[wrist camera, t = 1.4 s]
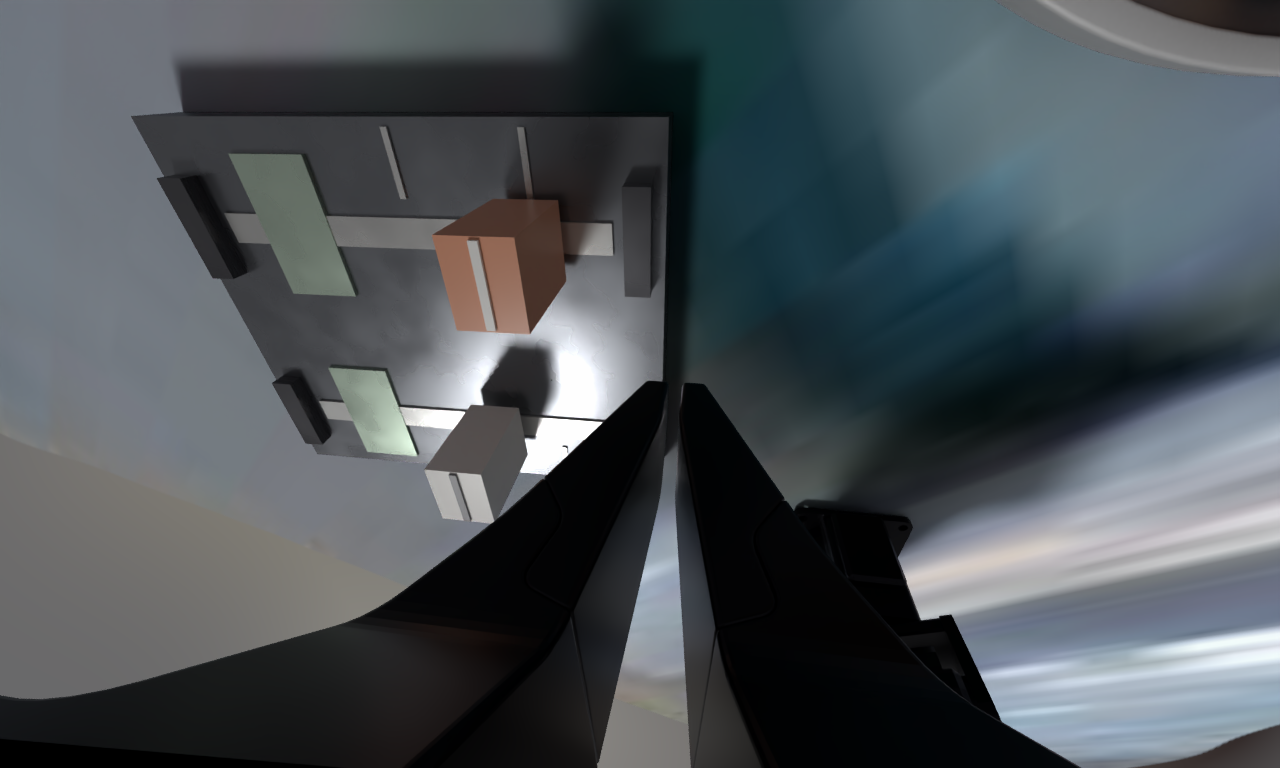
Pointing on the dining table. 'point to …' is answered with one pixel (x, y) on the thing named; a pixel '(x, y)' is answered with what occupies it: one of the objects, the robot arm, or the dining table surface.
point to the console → (427, 263)
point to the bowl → (1168, 31)
